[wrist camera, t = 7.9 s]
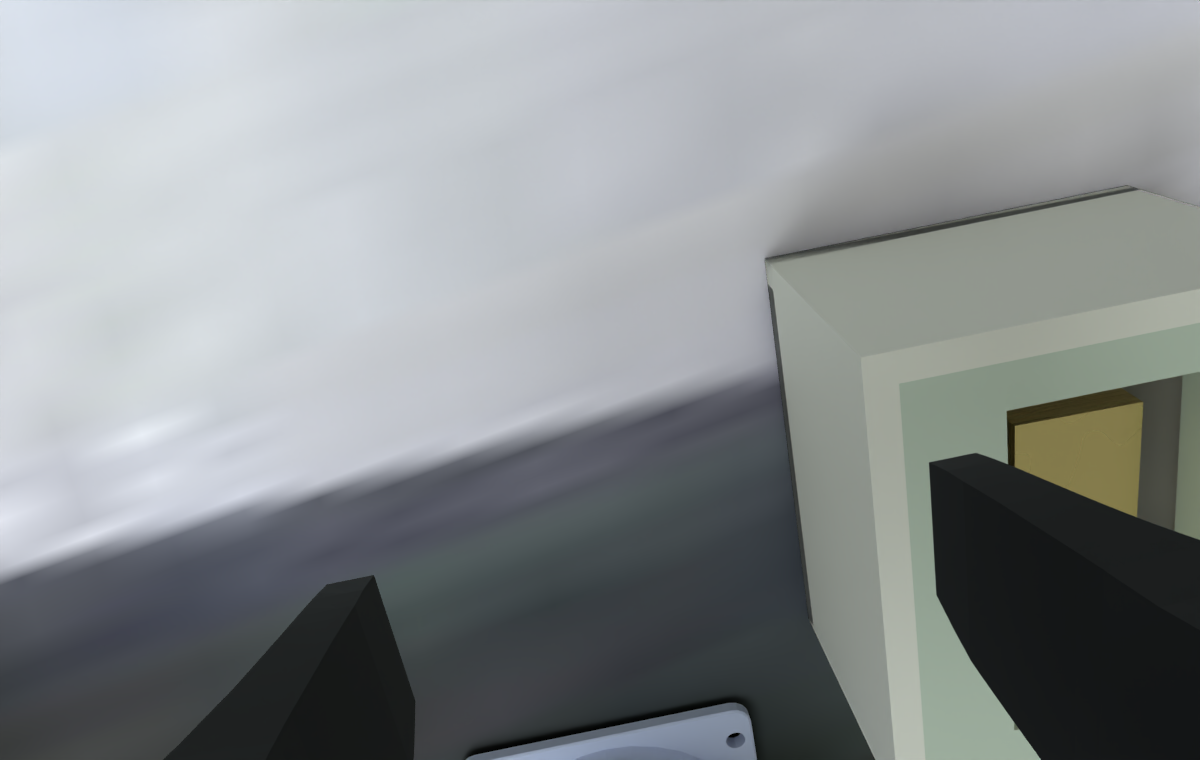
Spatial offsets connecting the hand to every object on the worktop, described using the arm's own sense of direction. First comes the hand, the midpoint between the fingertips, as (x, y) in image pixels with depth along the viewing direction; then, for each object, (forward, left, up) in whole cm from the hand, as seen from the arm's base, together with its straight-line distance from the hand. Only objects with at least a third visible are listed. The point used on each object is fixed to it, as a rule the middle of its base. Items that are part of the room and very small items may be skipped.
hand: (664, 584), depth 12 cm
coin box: (-4, -8, -10) cm, 14 cm away
